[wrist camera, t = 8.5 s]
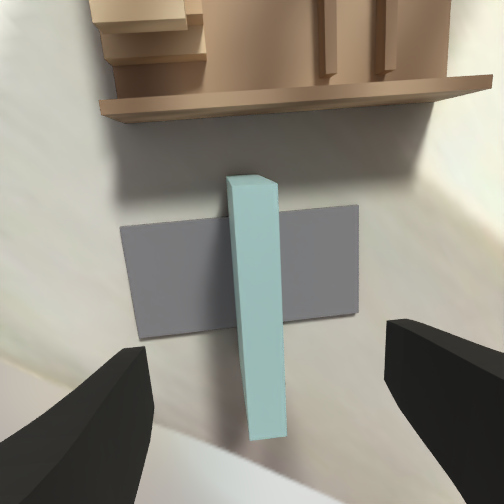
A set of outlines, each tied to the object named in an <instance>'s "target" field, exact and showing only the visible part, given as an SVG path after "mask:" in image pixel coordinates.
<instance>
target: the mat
mask: <svg viewBox="0 0 504 504" xmlns="http://www.w3.org/2000/svg"><path fill="white" fill-rule="evenodd" d="M120 232H121V238H122V244H123V249H124V255H125V261H126V266H127V272H128V278H129V283H130V289H131V295H132V300H133V306H134V312H135V317H136V323H137V329H138V334H139V338H147V337H155V336H164V335H172V334H181V333H190V332H198V331H207V330H215V329H224V328H233V327H237V320H236V306H235V292H234V279H233V265H232V252H231V238H230V224H229V217H218V218H207V219H196V220H185V221H175V222H164V223H153V224H142V225H131V226H121V227H120ZM279 232H280V260H281V287H282V314H283V322H284V321H293V320H301V319H310V318H318V317H327V316H335V315H344V314H353V313H358V312H359V205H348V206H337V207H326V208H315V209H304V210H294V211H283V212H279Z"/></svg>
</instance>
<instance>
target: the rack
mask: <svg viewBox="0 0 504 504" xmlns="http://www.w3.org/2000/svg"><path fill="white" fill-rule="evenodd" d="M89 4H90V10H91V16H92V22H93V24H94V25H95V26H96V27H97V28H98V29H99V31H100V37H101V43H102V49H103V55H104V59H105V60H106V61H107V62H108V63H109V64H111V65H112V67H113V73H114V79H115V85H116V92H117V98H118V99H109V100H99V105H100V111H101V115H103V116H105V117H108V118H111V119H114V120H117V121H120V122H123V123H125V124H127V123H141V122H155V121H169V120H183V119H197V118H212V117H226V116H240V115H254V114H268V113H282V112H296V111H311V110H325V109H339V108H353V107H367V106H381V105H395V104H409V103H424V102H436V101H440V100H444V99H449V98H453V97H457V96H461V95H465V94H470V93H474V92H478V91H482V90H486V89H491V88H492V80H493V74H491V75H476V76H461V77H446V76H447V59H448V43H449V27H450V10H451V0H89Z"/></svg>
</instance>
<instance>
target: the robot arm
mask: <svg viewBox="0 0 504 504" xmlns="http://www.w3.org/2000/svg"><path fill="white" fill-rule="evenodd" d="M384 380H385V382H386V384H387V386H388V388H389V390H390V392H391V394H392V396H393V398H394V399H395V401H396V403H397V405H398V407H399V408H400V410H401V411H402V413H403V414H404V416H405V417H406V418H407V420H408V421H409V423H410V424H411V425H412V427H413V428H414V430H415V431H416V432H417V434H418V435H419V437H420V438H421V439H422V441H423V442H424V443H425V445H426V446H427V447H428V449H429V450H430V452H431V453H432V454H433V456H434V457H435V458H436V460H437V461H438V462H439V464H440V465H441V467H442V468H443V469H444V471H445V472H446V473H447V475H448V476H449V478H450V479H451V481H452V482H453V483H454V485H455V486H456V488H457V489H458V491H459V492H460V494H461V495H462V497H463V499H464V500H465V502H466V504H504V353H502V352H499V351H496V350H493V349H490V348H487V347H485V346H482V345H479V344H476V343H474V342H471V341H468V340H466V339H463V338H460V337H458V336H455V335H452V334H450V333H447V332H445V331H442V330H439V329H437V328H434V327H431V326H428V325H426V324H423V323H420V322H417V321H413V320H410V319H398V320H389V321H387V325H386V347H385V370H384ZM153 415H154V401H153V395H152V388H151V382H150V375H149V369H148V362H147V356H146V349H145V346H142V347H133V348H123V349H122V350H121V351H119V352H118V353H117V354H116V355H114V356H113V357H112V358H111V359H110V360H108V361H107V362H106V363H105V364H104V365H103V366H102V367H100V368H99V369H98V370H97V371H96V372H95V373H93V374H92V375H91V376H90V377H89V378H88V379H86V380H85V381H84V382H83V383H82V384H81V385H79V386H78V387H77V388H76V389H75V390H73V391H72V392H71V393H69V394H68V395H67V396H66V397H64V398H63V399H62V400H61V401H59V402H58V403H57V404H55V405H54V406H53V407H52V408H50V409H49V410H48V411H46V412H45V413H44V414H42V415H41V416H39V417H38V418H37V419H35V420H34V421H32V422H31V423H30V424H28V425H27V426H25V427H24V428H22V429H21V430H19V431H18V432H16V433H15V434H13V435H11V436H10V437H8V438H7V439H5V440H4V441H2V442H1V443H0V504H134V501H135V497H136V494H137V490H138V486H139V482H140V478H141V475H142V471H143V467H144V463H145V459H146V455H147V451H148V447H149V443H150V438H151V430H152V423H153Z"/></svg>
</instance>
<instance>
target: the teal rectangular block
mask: <svg viewBox="0 0 504 504" xmlns="http://www.w3.org/2000/svg"><path fill="white" fill-rule="evenodd" d="M226 184H227V197H228V211H229V224H230V238H231V252H232V265H233V279H234V292H235V306H236V320H237V333H238V347H239V360H240V368H241V376H242V383H243V391H244V399H245V407H246V415H247V423H248V431H249V438H250V441H253V440H261V439H269V438H277V437H285V436H287V423H286V395H285V368H284V341H283V314H282V287H281V260H280V232H279V205H278V183H275V182H273V181H271V180H269V179H267V178H264V177H262V176H260V175H258V174H249V175H233V176H226Z"/></svg>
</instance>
